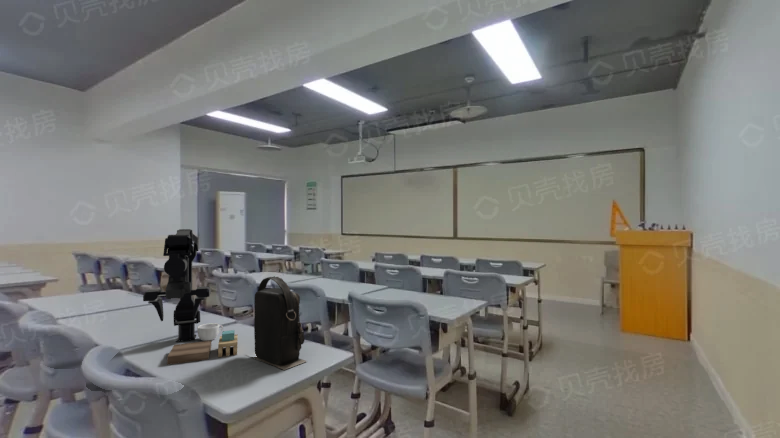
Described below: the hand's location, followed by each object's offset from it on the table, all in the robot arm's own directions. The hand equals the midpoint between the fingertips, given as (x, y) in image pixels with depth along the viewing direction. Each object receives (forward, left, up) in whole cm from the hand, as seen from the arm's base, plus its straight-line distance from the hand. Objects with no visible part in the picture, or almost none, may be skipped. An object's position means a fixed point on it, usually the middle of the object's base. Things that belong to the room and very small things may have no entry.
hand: (178, 319), depth 119 cm
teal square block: (-6, +15, -10) cm, 19 cm away
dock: (-6, +3, -14) cm, 16 cm away
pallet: (-6, +15, -14) cm, 22 cm away
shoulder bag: (+8, +30, -15) cm, 34 cm away
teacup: (-25, +8, -15) cm, 30 cm away
